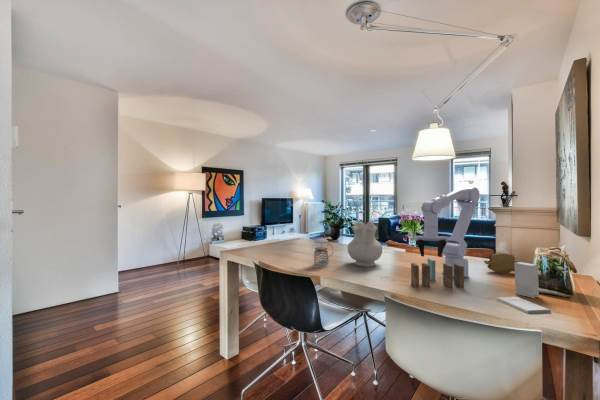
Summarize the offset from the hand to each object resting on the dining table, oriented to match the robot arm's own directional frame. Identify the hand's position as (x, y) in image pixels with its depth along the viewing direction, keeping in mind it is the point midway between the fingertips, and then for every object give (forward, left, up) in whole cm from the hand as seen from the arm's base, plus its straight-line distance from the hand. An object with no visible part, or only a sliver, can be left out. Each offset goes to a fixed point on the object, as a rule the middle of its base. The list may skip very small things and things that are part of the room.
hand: (430, 256), depth 129 cm
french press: (+50, -23, -11) cm, 56 cm away
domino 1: (+11, +11, -10) cm, 18 cm away
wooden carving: (-40, -14, -11) cm, 43 cm away
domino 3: (0, 0, -10) cm, 10 cm away
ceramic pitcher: (+26, -27, -11) cm, 39 cm away
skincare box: (-27, +21, -11) cm, 36 cm away
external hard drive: (-18, +32, -11) cm, 38 cm away
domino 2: (+6, +11, -10) cm, 16 cm away
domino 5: (-7, +11, -10) cm, 17 cm away
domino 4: (-3, +11, -10) cm, 15 cm away
